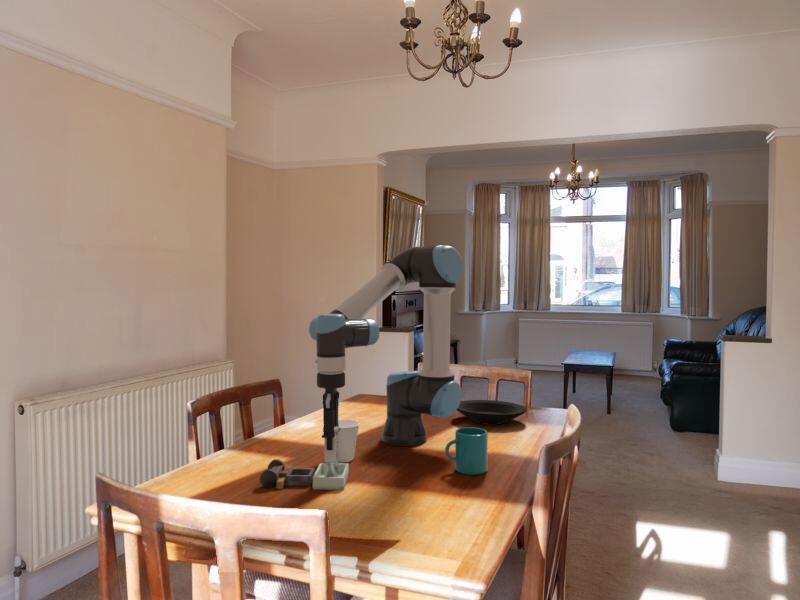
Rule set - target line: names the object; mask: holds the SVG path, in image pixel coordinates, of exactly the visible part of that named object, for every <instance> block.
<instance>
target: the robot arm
mask: <svg viewBox="0 0 800 600" xmlns="http://www.w3.org/2000/svg"><path fill="white" fill-rule="evenodd" d="M464 268H465V267H464V261H463V257H462V255H461V254H460V253H459V251H458V250H457V249H456V248H455V247H453V246H450V245H441V244H440V245H427V246H413V247H409V248H407V249H405V250H403V251H401V252H400V253H398V254H397V255H395V256H394V257H392V258H391V259H389V260H388V261H387V262H386V263H384V264H383V265H382V267H381V268H380V269H381V271H380V272H378V274H377V273H376V275H375V276H374V277H372V278H371V279H370V280H369V281H367V282H366V283H365V284H364V285H363V286H361V287H360V288H359V289H358V290H357V291H355V292H354V293H353V294H352V295H350V296H349V297H347V299H345V300H344V301H343V302H342V303H340V304H339V305H338V306H337V307H335V308H334V309H333V310H332V311H331V312H330V313H321V314H319V315H317V317H315V318H313V319H312V320H311V321H310V323H309V326H308V332H309V336H310V338H312V340H314V341H315V342H316V359H314V363H315V364H316V370H317V373H316V386H317V387H318V388H319V389H325V390H324V392H323V393H324V394H322V408H323V411H322V412H323V414H322V415H323V416H322V417H323V427H324V432H323V434H322V435H321V438H323V439H324V463H325V462H335V437H334V436H335V435H334V430H335V426H339V424H338V420H339V405H340V404H339V403H340V402H339V399H340V391H338V389H341V388H343V387H344V386H346V373H345V372H344V371H345V370H346V349H349V348H359V347H368V346H371V345H374V344H376V343H377V342H378V341H379V338H380V334H381V333H380V328H379V324H378V323H377V322H376V321H375V320H374V319H371V318H364V317H366V316H367V315H368V314H369V313H370V312H371V311H373V310H374V309H375V308H376V307H377V306H378V305H380V304H381V303H382V302H383V301H384V300H386V299H387V297H389V296H390V295H392V293H393V292H395V291H396V290H401V289H403V288H404V287H405V286H406V285H409V284H414V283H418V289H419V290H420V291H421V292H422V293H423V329H422V330H423V333H422V334H423V335H422V336H423V337H422V338H423V340H422V341H423V343H422V345H423V346H422V369H420V370H406V371H398V372H393V373H390V374H388V375H387V377H386V378H387V379H386V420H385V422H384V426H383V429H382V432H381V442H382V443H384V444H387V445H391V446H399V447H409V446H411V447H413V446H417V445H422V444H424V443H426V442H427V441H428V440H427V439H428V438H427V431H426V428H425V425H424V421H423V418H422V414H425V415H429V416H432V417H435V418H438V417H440V418H448V417H451V416H452V415H453V414H455V413H456V412H457V408H458V407H459V405H460V402H461V401H462V398H463V397H462V396H463V392H462V391H463V390H462V387H461V385H460V384H459V383H458V382H457V381H455V373H454V372H453V371H452V370H451V368H450V367H451V315H452V314H451V310H452V309H451V308H452V307H451V304H452V300H451V299H452V295H451V294H452V293H453V292H454V291H455V290H456V287H457V286H456V285H457V283H458V282H460V280H461V279H462V277H463V276H464V275H463V274H464V271H465V269H464Z"/></svg>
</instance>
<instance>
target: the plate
mask: <svg viewBox="0 0 800 600" xmlns="http://www.w3.org/2000/svg"><path fill="white" fill-rule="evenodd" d="M456 412H458V413H459V414H462V416H464V417H467V418H468V419H470V420H472V421H473V422H475V423H478V424H482V425H487V426H488V425H493V426H494V425H500V424H502V423H506V422H508V421H511V420H514V419H516V418H517V419H518V417H520V416H522V415H524V414H526V413H527V408H526V407H525V406H524V405H522V404H519V403H513V402H509V401H502V400H494V399H493V400H492V399H490V400H489V399H469V400H461V402H460V405H459V407H458V408H457V410H456Z"/></svg>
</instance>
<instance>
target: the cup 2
mask: <svg viewBox="0 0 800 600" xmlns="http://www.w3.org/2000/svg"><path fill="white" fill-rule="evenodd" d="M454 433H455V436H454V439H453V440H449V442H448V443H447V444H446V445H445V450H444V452H445V455H446V457H447V458H448V459H449V460H451V461H452V462H453V461H454V463H455V466H454V467H455V470H456V471H457V472H458V473H459V474H463V475H470V476H475V475H477V476H478V475H482V474H485V473H486V472H487V471H488V434H489V433H488V431H487V430H486V429H483V428H482V427H481V428H480V427H474V426H473V427H471V426H470V427H469V426H468V427H467V426H466V427H460V428H457V429H456V430H455V432H454ZM454 444H455V446H454V447H455V450H454V453H455V454H454V455H455V456H452V455H451V454H450V447H451V446H452V445H454Z"/></svg>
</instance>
